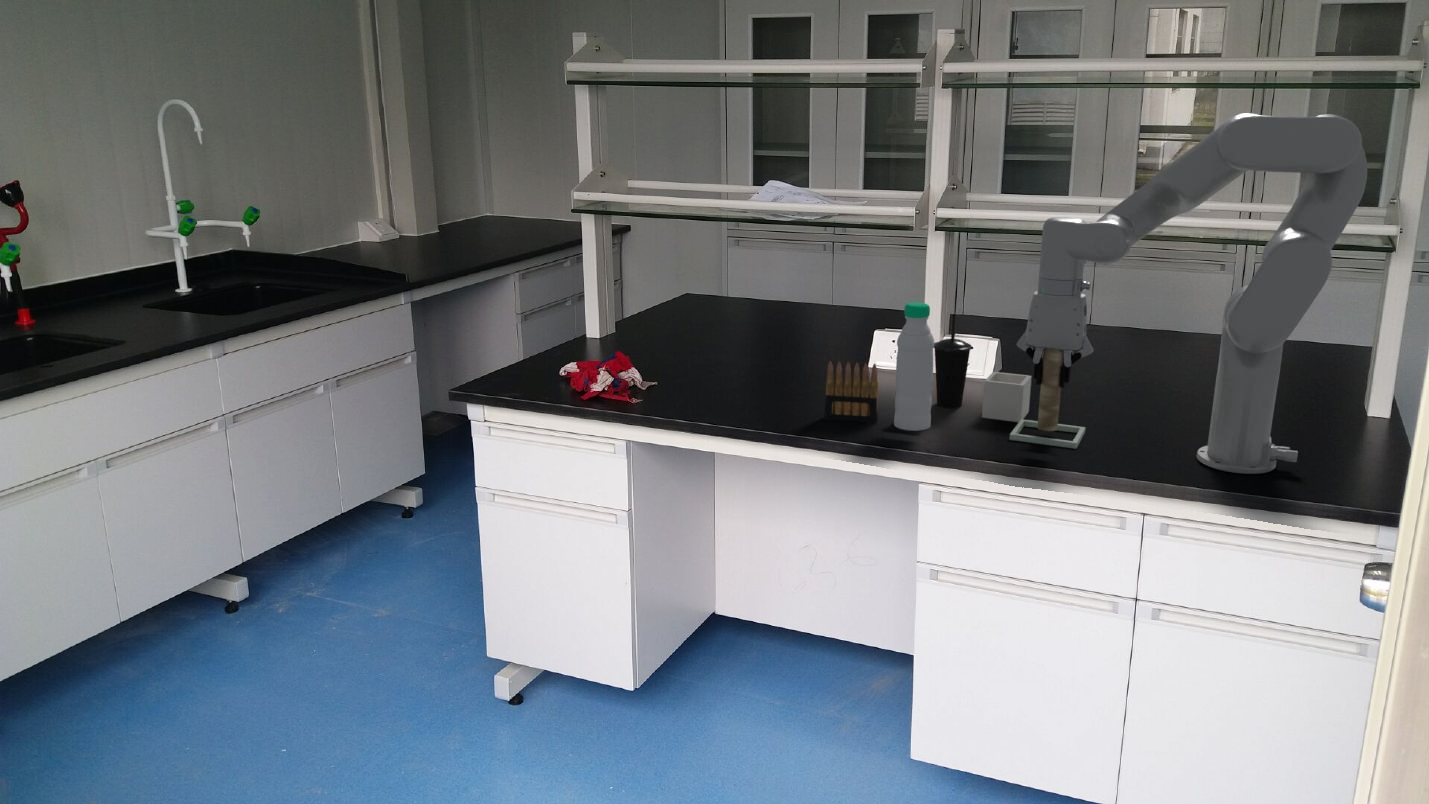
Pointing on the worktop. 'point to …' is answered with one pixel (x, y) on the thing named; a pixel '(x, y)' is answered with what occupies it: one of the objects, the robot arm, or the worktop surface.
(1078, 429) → the tray
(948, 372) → the drinking cup
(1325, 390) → the worktop surface
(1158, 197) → the robot arm
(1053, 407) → the dowel
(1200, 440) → the worktop surface
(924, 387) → the water bottle
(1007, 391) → the holder
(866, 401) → the ammunition clip
